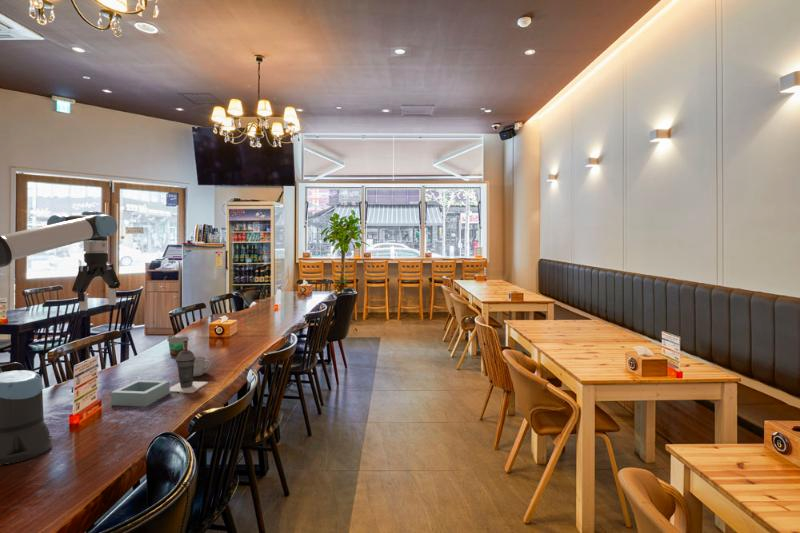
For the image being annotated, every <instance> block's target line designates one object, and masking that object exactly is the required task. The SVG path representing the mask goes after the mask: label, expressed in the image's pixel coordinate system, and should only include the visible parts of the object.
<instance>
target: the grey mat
mask: <svg viewBox="0 0 800 533" xmlns="http://www.w3.org/2000/svg"><path fill="white" fill-rule="evenodd" d="M207 384H209V382H208V381H195V380H193V384H192V386H191V387H189V388H181V386H180V382H178V383H175V384H174V385H172V386H170V393H177V392H179V394H180V393H182V394H193V393H194V392H196V391H198V390H200V389H201V388H202V387H205V386H206V385H207Z"/></svg>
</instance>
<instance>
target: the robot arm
mask: <svg viewBox="0 0 800 533" xmlns="http://www.w3.org/2000/svg"><path fill="white" fill-rule="evenodd" d="M117 231H118V223H117V220H116V219H115V217H113V216H112V215H110V214H109V215H108V214H106V213H105V212H103V211H93V210H91V211H85V210H84V211H83V212H82V214H81V215H80V214H79V215H76V214H75V215H74V214H71V215H67V214H53V215H51V216H50V217H49V218H48V219H47V221H46V225H43V226H38V227H33V228H28V229H23V230H20V231H15V232H14V231H13V232H10V233H5V234H1V235H0V268H4V267H7V266H9V265H11V264H12V262H13V261H15V260H19V259H23V258H26V257H29V256H32V255H36V254H40V253H45V252H47V251H48V252H49V251H51V250H55V249H58V248H62V247H66V246H69V245H73V244H76V243H81V242H82V243H83V244H82V245H83V252H85V253H83V261H84V263H86V265H79V266H78V272H77V274H76V278H75V280H74V283H73V286H72V289H71V291H72V292H74V293H76V294H77V301H78V305H79V306H78V307H79V311H88V310H89V306H88V303H89V302H88V292H86V291H87V289H88V287H89V286H90V284H91V283H92V281H93V279H95V278H98V277H100V278H102V280H103V281H104V282H105V284H106V285H107V286H108V288H107V301H108V303H107V304H108V305H109V306H111V305H112V306H115V305H117V289H119V288H120V286H121V281H120V280H119V278H118V276H117V272H116V271H115V266H114V264H113V263H108V262H109V253H108V251H109V249H108V248H109V247H108V237H111V236H114V235H115V234H116V233H117ZM43 389H44V385H43V382H42V376H41V375H40V374H39V373H37V372H36V371H34V370H27V369H22V370H17V369H16V370H10V371H2V368H1V366H0V464H6V463H13V464H15V463H14V462H18V461H21V462H24V461H23V460H25V461H27V460H26V459H28V460H31V459H34V458H36V457H38V456H40V455H42V454H44V453H46V452H47V451H49V450H50V449H51V448H52V447H53V441H54V440H53V436H52V434H51V433H50V430H49V428H48V426H47V425H46V423H45V419H44V418H45V417H44V396H43ZM30 458H31V459H30ZM18 463H19V462H18Z"/></svg>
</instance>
